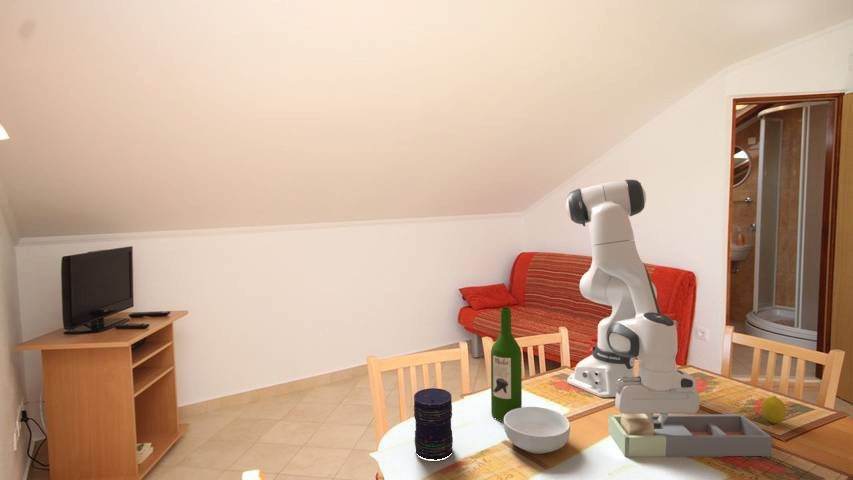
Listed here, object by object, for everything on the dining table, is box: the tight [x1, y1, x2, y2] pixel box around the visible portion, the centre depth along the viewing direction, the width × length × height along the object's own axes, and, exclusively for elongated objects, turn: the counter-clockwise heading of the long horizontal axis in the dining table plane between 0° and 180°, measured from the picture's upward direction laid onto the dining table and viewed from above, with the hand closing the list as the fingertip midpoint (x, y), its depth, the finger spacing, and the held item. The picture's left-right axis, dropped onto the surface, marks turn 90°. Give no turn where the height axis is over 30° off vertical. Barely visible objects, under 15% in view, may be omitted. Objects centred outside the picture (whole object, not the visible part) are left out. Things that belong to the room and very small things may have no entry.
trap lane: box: [607, 413, 773, 458], centre depth 124 cm, size 36×12×5 cm, turn 88°
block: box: [620, 413, 654, 435], centre depth 124 cm, size 6×6×4 cm
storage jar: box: [413, 387, 454, 460], centre depth 122 cm, size 10×10×15 cm
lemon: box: [761, 395, 787, 425], centre depth 133 cm, size 6×6×8 cm
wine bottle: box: [490, 307, 523, 422], centre depth 140 cm, size 9×9×32 cm
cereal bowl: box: [503, 406, 571, 455], centre depth 125 cm, size 17×17×7 cm
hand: (655, 428), depth 124 cm, fingers closed
